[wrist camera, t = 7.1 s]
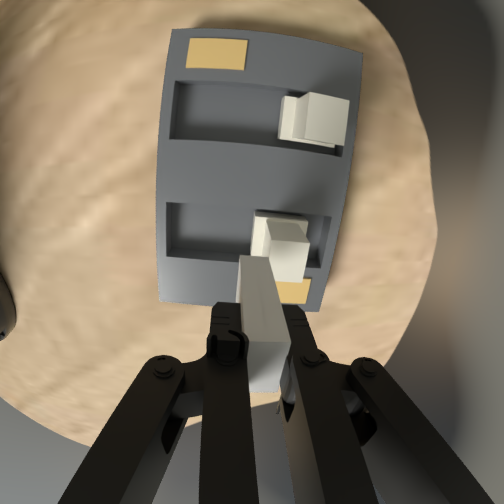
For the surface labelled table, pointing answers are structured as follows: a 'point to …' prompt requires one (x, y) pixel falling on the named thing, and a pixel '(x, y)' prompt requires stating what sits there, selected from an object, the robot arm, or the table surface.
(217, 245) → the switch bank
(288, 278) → the tab
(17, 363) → the table surface
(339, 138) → the tab
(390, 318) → the table surface
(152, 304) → the table surface
